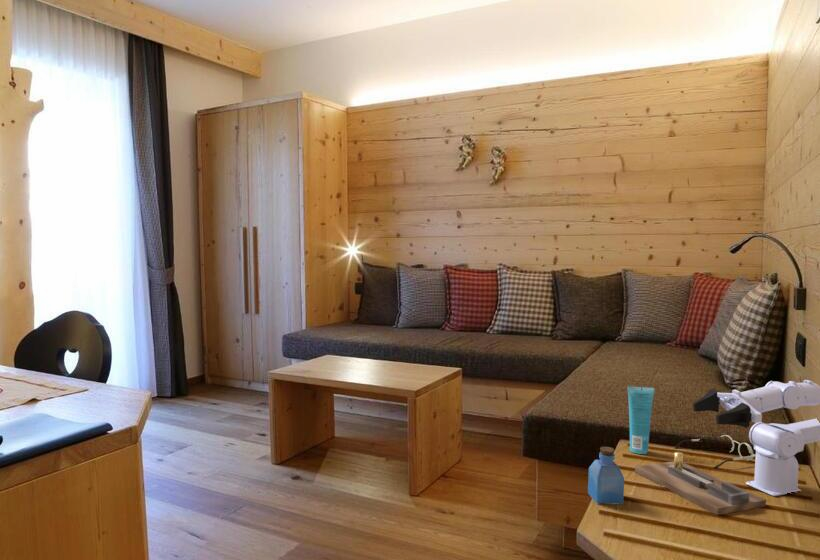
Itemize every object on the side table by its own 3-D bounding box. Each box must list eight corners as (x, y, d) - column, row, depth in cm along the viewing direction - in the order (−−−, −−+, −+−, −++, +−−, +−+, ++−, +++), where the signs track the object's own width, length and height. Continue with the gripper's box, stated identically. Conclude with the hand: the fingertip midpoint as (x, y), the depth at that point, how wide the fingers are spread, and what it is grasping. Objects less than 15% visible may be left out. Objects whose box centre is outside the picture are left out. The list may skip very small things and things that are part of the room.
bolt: (674, 469, 152) (675, 450, 152) (712, 487, 141) (713, 466, 141) (668, 470, 152) (669, 450, 151) (706, 488, 140) (707, 467, 140)
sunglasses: (760, 466, 161) (761, 449, 161) (714, 470, 158) (715, 452, 157) (715, 446, 178) (716, 430, 177) (672, 449, 174) (673, 433, 174)
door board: (679, 465, 159) (679, 453, 159) (765, 506, 135) (766, 491, 135) (635, 472, 154) (635, 459, 154) (716, 515, 130) (717, 499, 130)
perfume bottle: (612, 492, 141) (614, 444, 140) (623, 504, 135) (625, 453, 134) (587, 492, 141) (589, 444, 140) (596, 504, 134) (598, 453, 134)
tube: (648, 449, 172) (651, 385, 171) (654, 455, 167) (657, 389, 166) (623, 448, 173) (625, 384, 172) (627, 454, 168) (630, 388, 167)
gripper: (729, 376, 148) (684, 387, 145) (778, 397, 135) (728, 409, 132) (729, 402, 150) (684, 412, 147) (777, 425, 136) (728, 438, 133)
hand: (705, 413), depth 139 cm, fingers open, 7 cm apart
